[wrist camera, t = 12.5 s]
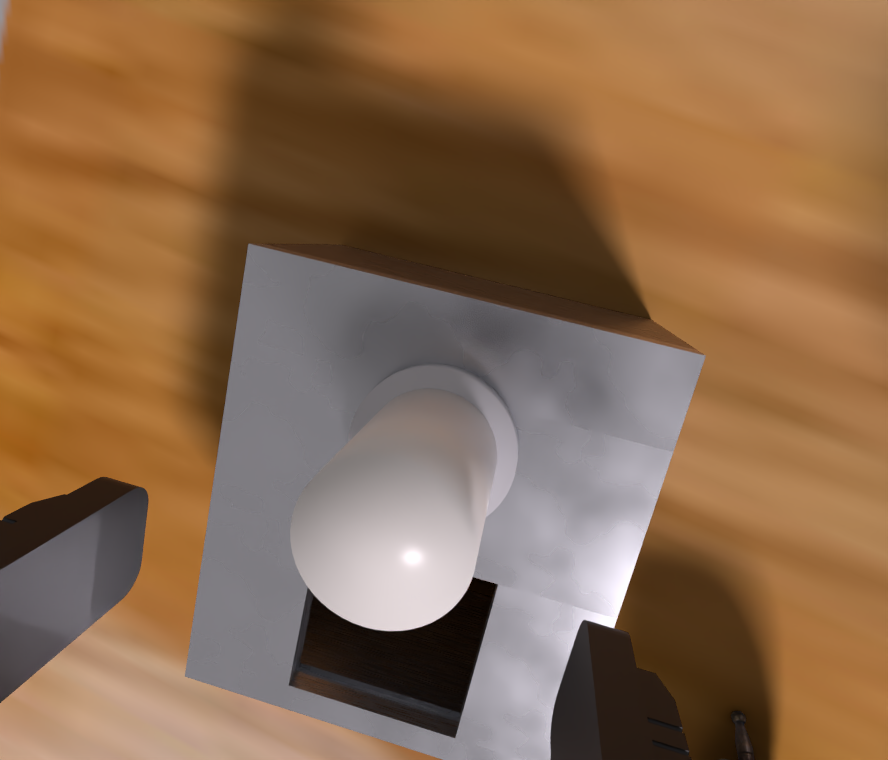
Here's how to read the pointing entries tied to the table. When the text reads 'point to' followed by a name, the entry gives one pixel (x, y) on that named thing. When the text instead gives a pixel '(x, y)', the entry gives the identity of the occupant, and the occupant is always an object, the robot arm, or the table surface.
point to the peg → (406, 499)
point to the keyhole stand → (505, 530)
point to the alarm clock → (741, 737)
